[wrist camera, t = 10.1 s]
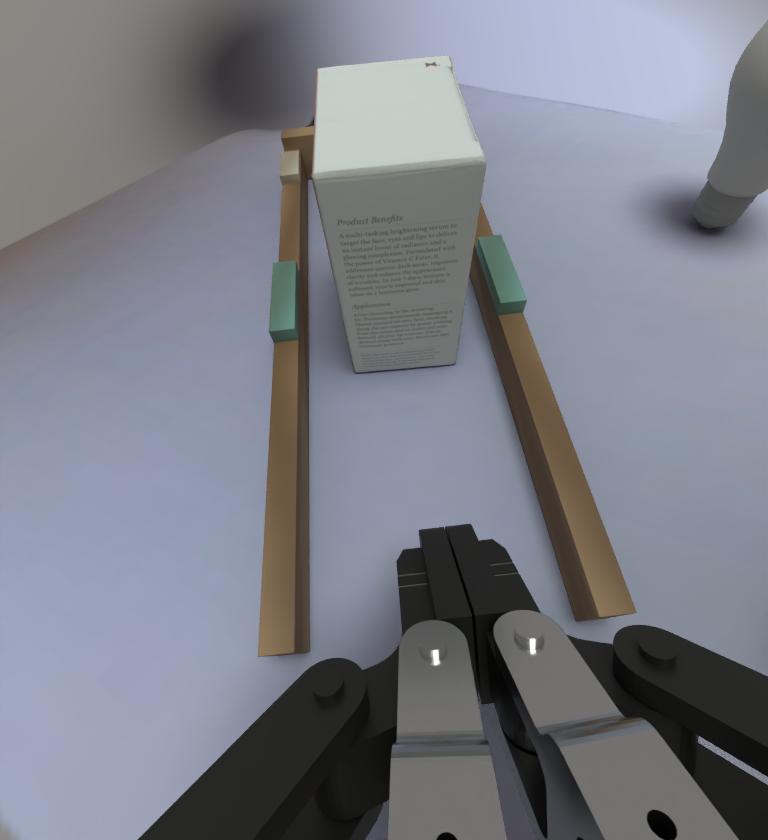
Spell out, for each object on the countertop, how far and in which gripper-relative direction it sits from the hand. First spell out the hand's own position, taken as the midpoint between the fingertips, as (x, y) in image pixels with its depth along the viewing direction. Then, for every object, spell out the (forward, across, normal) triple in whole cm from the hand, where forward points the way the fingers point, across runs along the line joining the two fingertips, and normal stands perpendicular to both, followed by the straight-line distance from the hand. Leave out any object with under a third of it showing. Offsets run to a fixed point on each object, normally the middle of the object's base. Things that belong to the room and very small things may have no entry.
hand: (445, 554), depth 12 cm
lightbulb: (+17, -20, -10) cm, 28 cm away
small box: (+14, 0, -6) cm, 15 cm away
